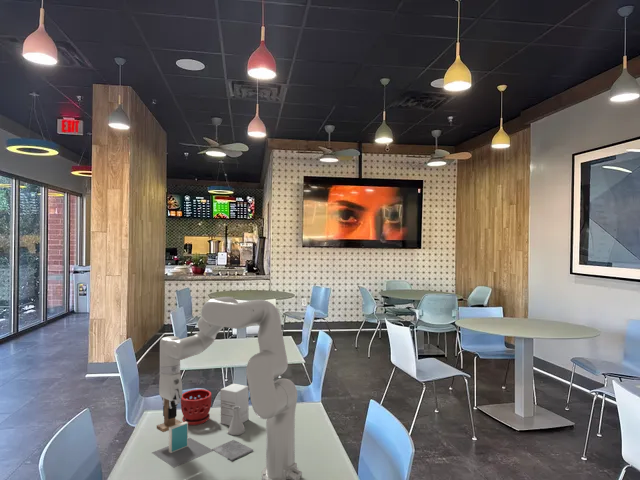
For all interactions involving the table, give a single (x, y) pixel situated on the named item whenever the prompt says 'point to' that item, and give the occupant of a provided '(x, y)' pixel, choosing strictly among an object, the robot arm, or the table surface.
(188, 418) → the plant pot
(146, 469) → the table surface
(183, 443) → the tile
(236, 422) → the flask
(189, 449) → the mat
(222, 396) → the supplement box
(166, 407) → the wooden post stand
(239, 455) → the plate
